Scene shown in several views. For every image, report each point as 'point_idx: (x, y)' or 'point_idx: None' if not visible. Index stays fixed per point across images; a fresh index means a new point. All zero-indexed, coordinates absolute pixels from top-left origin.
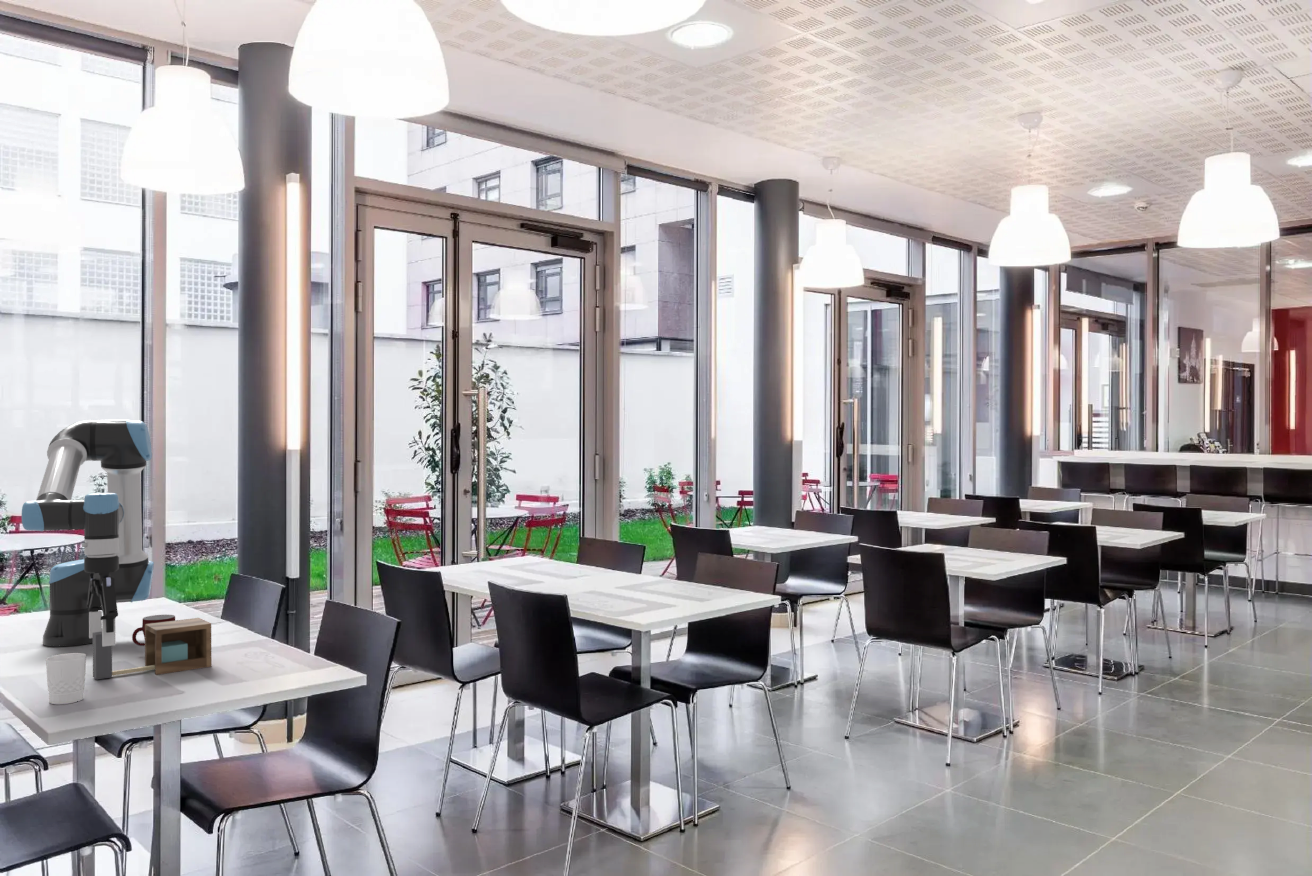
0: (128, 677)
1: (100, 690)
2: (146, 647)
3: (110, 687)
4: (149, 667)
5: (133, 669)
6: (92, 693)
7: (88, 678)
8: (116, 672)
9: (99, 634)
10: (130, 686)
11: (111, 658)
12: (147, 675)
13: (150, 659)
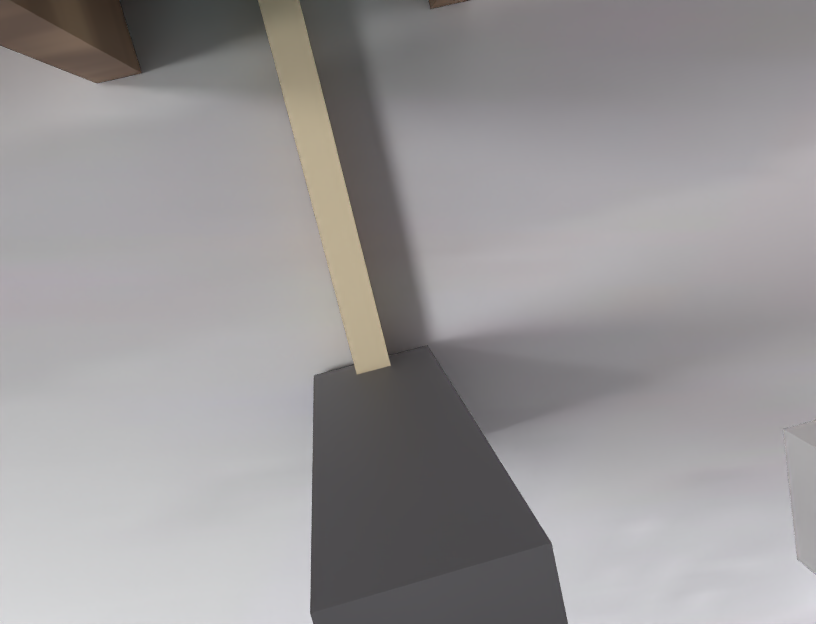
0: (446, 224)
1: (758, 398)
2: (71, 30)
3: (709, 340)
4: (310, 45)
5: (344, 187)
6: None
7: None
8: (379, 321)
9: None
10: (758, 209)
11: (461, 400)
12: (448, 75)
13: (105, 16)
